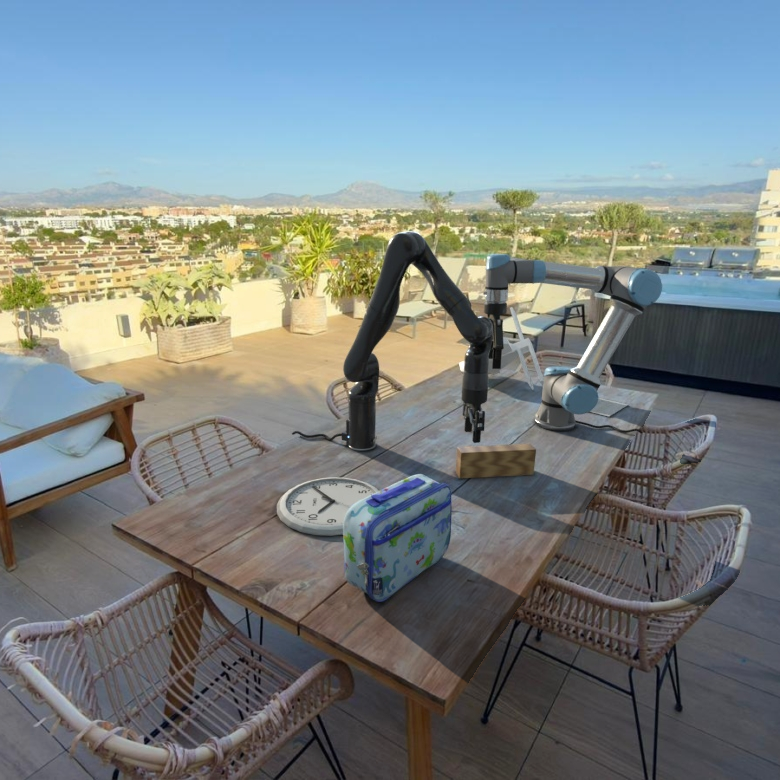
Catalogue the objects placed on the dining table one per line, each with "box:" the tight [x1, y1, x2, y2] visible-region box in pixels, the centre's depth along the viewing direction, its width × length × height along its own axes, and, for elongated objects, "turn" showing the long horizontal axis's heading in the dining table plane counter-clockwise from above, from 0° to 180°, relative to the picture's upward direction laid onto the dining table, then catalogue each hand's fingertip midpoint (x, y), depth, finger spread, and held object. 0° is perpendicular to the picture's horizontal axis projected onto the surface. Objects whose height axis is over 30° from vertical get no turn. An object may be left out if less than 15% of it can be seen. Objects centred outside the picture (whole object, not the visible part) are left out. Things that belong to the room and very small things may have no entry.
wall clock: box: [276, 476, 381, 537], centre depth 142 cm, size 30×2×30 cm
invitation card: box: [589, 397, 629, 418], centre depth 226 cm, size 21×1×15 cm
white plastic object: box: [458, 306, 544, 391], centre depth 259 cm, size 37×45×31 cm
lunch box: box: [342, 473, 453, 603], centre depth 112 cm, size 26×11×21 cm, turn 134°
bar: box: [455, 443, 537, 479], centre depth 162 cm, size 24×5×9 cm, turn 98°
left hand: (472, 436), depth 158 cm, fingers open, 8 cm apart
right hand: (492, 363), depth 181 cm, fingers open, 13 cm apart
